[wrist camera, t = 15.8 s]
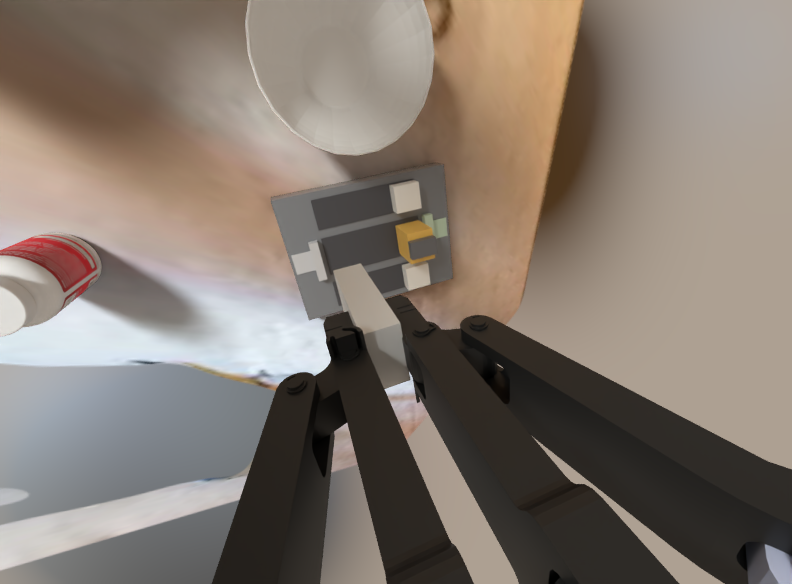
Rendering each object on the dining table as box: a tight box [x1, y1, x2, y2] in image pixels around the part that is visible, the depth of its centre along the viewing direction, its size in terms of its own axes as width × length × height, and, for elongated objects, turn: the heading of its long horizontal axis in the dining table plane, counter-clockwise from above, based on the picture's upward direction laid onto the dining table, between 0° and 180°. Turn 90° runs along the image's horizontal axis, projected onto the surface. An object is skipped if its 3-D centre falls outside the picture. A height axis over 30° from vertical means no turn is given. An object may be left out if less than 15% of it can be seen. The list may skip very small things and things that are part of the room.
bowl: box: [245, 0, 434, 156], centre depth 31 cm, size 16×16×7 cm
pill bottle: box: [0, 233, 102, 337], centre depth 29 cm, size 6×6×11 cm
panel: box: [271, 163, 453, 320], centre depth 41 cm, size 20×15×4 cm
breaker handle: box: [395, 220, 438, 264], centre depth 39 cm, size 3×4×5 cm
